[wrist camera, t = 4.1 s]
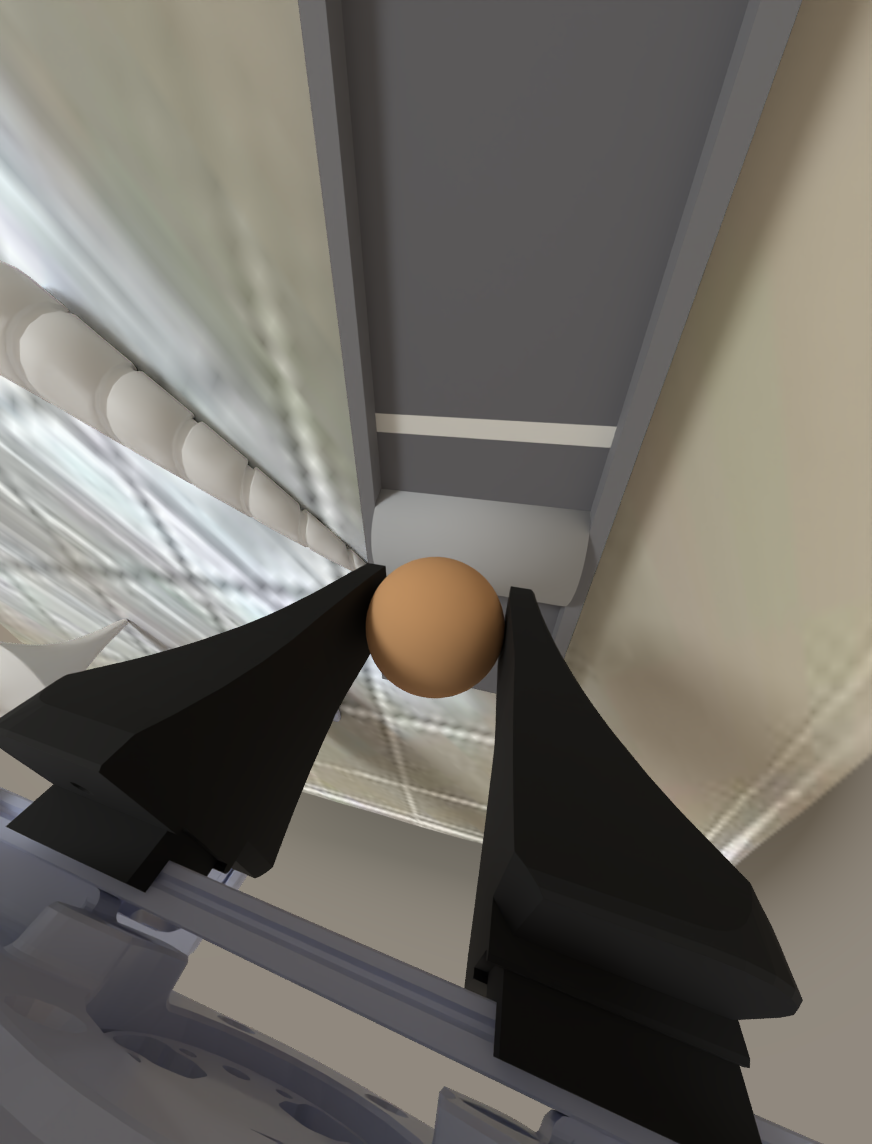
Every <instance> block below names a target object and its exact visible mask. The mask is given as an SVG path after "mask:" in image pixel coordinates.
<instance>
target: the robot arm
mask: <svg viewBox="0 0 872 1144" xmlns="http://www.w3.org/2000/svg"><path fill="white" fill-rule="evenodd" d="M386 577H387V576H386V566H384V565H378V564H372V563H368V564H365V565H363V566H361V567H359V568H358V569H356V570H354V571H352V572H350V573H349V574H347V575H345V576H343V577H341V578H340V579H338V580H336V581H334V582H333V583H331V584H329V585H327V586H325V587H324V588H322V589H320V590H318V591H316V592H314V593H313V594H311V595H309V596H307V597H305V598H303V599H301V600H299V601H297V602H295V603H293V604H291V605H289V606H287V607H285V608H283V609H281V610H278V611H276V612H274V613H272V614H269V615H267V616H265V617H262V618H260V619H258V620H255V621H253V622H250V623H248V624H245V625H243V626H240V627H238V628H235V629H232V630H229V631H226V632H223V633H220V634H218V635H215V636H212V637H209V638H206V639H203V640H200V641H197V642H194V643H191V644H187V645H184V646H181V647H177V648H174V649H171V650H167V651H163V652H160V653H156V654H153V655H149V656H145V657H141V658H137V659H133V660H129V661H125V662H120V663H116V664H112V665H107V666H103V667H99V668H94V669H90V670H86V671H81V672H76V673H71V674H67V675H65V676H63V677H61V678H60V679H58V680H56V681H55V682H53V683H52V684H50V685H49V686H47V687H46V688H44V689H43V690H41V691H40V692H38V693H37V694H35V695H34V696H32V697H31V698H29V699H28V700H26V701H25V702H23V703H22V704H20V705H19V706H17V707H16V708H14V709H12V710H11V711H9V712H8V713H6V714H5V715H3V716H2V717H0V748H1V749H2V750H4V751H5V752H7V753H8V754H9V755H11V756H12V757H14V758H15V759H17V760H18V761H20V762H21V763H23V764H24V765H26V766H27V767H29V768H30V769H32V770H33V771H35V772H36V773H38V774H39V775H41V776H42V777H44V778H45V779H47V780H48V781H49V782H51V783H53V785H52V786H51V787H50V788H49V789H48V790H47V791H45V793H43V794H42V795H41V796H40V797H39V798H37V799H36V800H35V801H31V800H29V799H27V798H24V797H22V796H20V795H18V794H15V793H13V792H11V791H8V790H6V789H4V788H1V787H0V1144H821V1143H820V1142H817V1141H815V1140H813V1139H810V1138H808V1137H806V1136H803V1135H801V1134H799V1133H796V1132H794V1131H792V1130H790V1129H787V1128H785V1127H782V1126H780V1125H778V1124H776V1123H773V1122H771V1121H769V1120H766V1119H764V1118H762V1117H760V1116H757V1115H755V1114H753V1110H752V1107H751V1104H750V1100H749V1097H748V1093H747V1090H746V1086H745V1083H744V1079H743V1076H742V1073H741V1069H740V1066H742V1067H747V1068H750V1057H749V1054H748V1051H747V1047H746V1044H745V1041H744V1038H743V1034H742V1031H741V1028H740V1025H739V1022H738V1020H743V1019H764V1018H781V1017H786V1016H791V1015H794V1014H795V1013H796V1011H797V1010H798V1008H799V1006H800V1004H801V1003H802V1001H803V1000H802V997H801V995H800V992H799V990H798V988H797V985H796V983H795V980H794V978H793V976H792V973H791V971H790V968H789V966H788V964H787V962H786V959H785V956H784V954H783V952H782V949H781V947H780V944H779V942H778V940H777V937H776V935H775V933H774V930H773V928H772V926H771V924H770V922H769V920H768V918H767V916H766V914H765V912H764V910H763V908H762V907H761V904H760V902H759V900H758V899H757V896H756V894H755V892H754V890H753V888H752V886H751V884H750V882H749V881H748V880H747V879H746V878H745V877H744V876H743V875H742V874H741V873H740V872H739V871H738V870H737V869H736V868H735V867H734V866H733V865H732V864H731V863H730V862H729V861H728V860H727V859H726V858H725V857H724V856H723V855H722V854H721V853H720V851H719V850H718V849H717V848H716V847H715V846H714V845H713V844H712V843H711V842H710V841H709V840H708V839H707V838H706V837H705V836H704V835H703V834H702V833H701V832H700V831H699V830H698V829H697V828H696V827H695V826H694V825H693V824H692V823H691V822H690V821H689V820H688V819H687V818H686V817H685V815H684V814H683V813H682V812H681V811H680V810H679V809H678V808H677V807H676V806H675V805H674V804H673V803H672V801H671V800H670V799H669V798H668V797H667V796H666V795H665V794H664V793H663V791H662V790H661V789H660V788H659V787H658V786H657V785H656V784H655V782H654V781H653V780H652V779H651V778H650V777H649V776H648V775H647V773H646V772H645V771H644V770H643V768H642V767H641V766H640V765H639V763H638V762H637V761H636V760H635V759H634V757H633V756H632V755H631V754H630V752H629V751H628V750H627V749H626V748H625V746H624V745H623V744H622V743H621V741H620V740H619V739H618V738H617V737H616V735H615V734H614V733H613V732H612V730H611V729H610V728H609V726H608V725H607V724H606V722H605V721H604V720H603V718H602V717H601V716H600V714H599V713H598V711H597V710H596V709H595V707H594V706H593V704H592V703H591V702H590V700H589V699H588V697H587V696H586V694H585V693H584V691H583V690H582V688H581V687H580V685H579V684H578V682H577V681H576V679H575V677H574V676H573V674H572V672H571V671H570V669H569V667H568V666H567V664H566V662H565V660H564V659H563V657H562V655H561V653H560V651H559V650H558V648H557V646H556V644H555V642H554V640H553V638H552V636H551V634H550V632H549V630H548V627H547V625H546V623H545V621H544V618H543V616H542V614H541V611H540V609H539V606H538V603H537V600H536V597H535V594H534V592H533V591H532V590H531V589H526V588H519V587H513V586H511V587H510V592H509V597H508V603H507V608H506V614H505V619H504V621H505V633H504V640H503V645H502V649H501V652H500V654H499V657H498V665H497V695H496V728H495V746H494V756H493V764H492V773H491V781H490V789H489V797H488V805H487V814H486V822H485V830H484V838H483V845H482V854H481V862H480V870H479V877H478V885H477V892H476V900H475V908H474V915H473V924H472V930H471V938H470V946H469V953H468V962H467V970H466V979H465V988H462V987H460V986H458V985H455V984H453V983H451V982H448V981H446V980H444V979H442V978H439V977H437V976H435V975H432V974H430V973H428V972H425V971H423V970H421V969H419V968H416V967H414V966H412V965H409V964H407V963H405V962H402V961H400V960H398V959H395V958H393V957H391V956H389V955H386V954H384V953H382V952H379V951H377V950H375V949H372V948H370V947H368V946H366V945H363V944H361V943H359V942H356V941H354V940H352V939H349V938H347V937H345V936H342V935H340V934H338V933H336V932H333V931H331V930H328V929H326V928H324V927H322V926H319V925H317V924H315V923H312V922H310V921H308V920H305V919H303V918H301V917H299V916H296V915H294V914H291V913H289V912H287V911H285V910H283V909H280V908H278V907H276V906H273V905H271V904H269V903H266V902H264V901H262V900H259V899H257V898H255V897H253V896H250V895H248V894H246V893H243V892H241V891H239V890H238V889H239V887H240V886H241V885H242V883H243V882H244V880H245V878H246V877H247V875H249V876H251V877H253V878H257V877H259V876H261V875H263V874H264V873H266V872H267V871H269V870H270V869H271V868H272V867H273V865H274V862H275V860H276V857H277V854H278V852H279V849H280V846H281V844H282V841H283V838H284V836H285V833H286V830H287V828H288V825H289V823H290V820H291V817H292V815H293V812H294V809H295V807H296V805H297V802H298V799H299V797H300V795H301V792H302V790H303V788H304V785H305V783H306V780H307V778H308V775H309V773H310V770H311V768H312V766H313V764H314V761H315V759H316V757H317V755H318V752H319V750H320V748H321V745H322V743H323V741H324V739H325V736H326V734H327V732H328V730H329V728H330V726H331V724H332V721H336V722H338V721H339V720H340V719H341V715H340V712H339V707H340V705H341V703H342V701H343V699H344V697H345V696H346V694H347V692H348V691H349V689H350V687H351V686H352V684H353V682H354V680H355V679H356V677H357V675H358V674H359V672H360V670H361V669H362V667H363V665H364V664H365V662H366V660H367V659H368V657H369V655H370V654H371V653H370V651H369V648H368V644H367V639H366V616H367V611H368V607H369V604H370V602H371V599H372V597H373V595H374V593H375V591H376V590H377V588H378V586H379V585H380V584H381V583H382V581H383V580H384V579H385V578H386ZM202 939H204V940H206V941H208V942H210V943H212V944H215V945H217V946H219V947H221V948H223V949H225V950H227V951H229V952H231V953H233V954H235V955H237V956H239V957H242V958H243V959H245V960H247V961H250V962H252V963H254V964H256V965H258V966H260V967H262V968H264V969H266V970H269V971H270V972H272V973H275V974H277V975H279V976H280V977H283V978H285V979H287V980H289V981H291V982H293V983H295V984H297V985H299V986H301V987H303V988H305V989H308V990H309V991H312V992H313V993H316V994H318V995H320V996H322V997H324V998H326V999H328V1000H330V1001H332V1002H334V1003H336V1004H338V1005H340V1006H342V1007H345V1008H346V1009H349V1010H351V1011H353V1012H355V1013H357V1014H359V1015H361V1016H363V1017H365V1018H367V1019H369V1020H371V1021H373V1022H376V1023H377V1024H380V1025H381V1026H384V1027H386V1028H388V1029H390V1030H392V1031H394V1032H396V1033H398V1034H400V1035H402V1036H404V1037H406V1038H408V1039H410V1040H412V1041H414V1042H417V1043H419V1044H421V1045H423V1046H425V1047H427V1048H429V1049H431V1050H433V1051H435V1052H437V1053H439V1054H441V1055H443V1056H445V1057H447V1058H449V1059H452V1060H454V1061H456V1062H458V1063H460V1064H462V1065H464V1066H466V1067H468V1068H470V1069H472V1070H474V1071H476V1072H478V1073H480V1074H482V1075H485V1076H487V1077H489V1078H491V1079H493V1080H495V1081H497V1082H499V1083H501V1084H503V1085H505V1086H507V1087H510V1088H511V1089H514V1090H515V1091H518V1092H520V1093H522V1094H524V1095H526V1096H528V1097H530V1098H532V1099H534V1100H536V1101H538V1102H540V1103H542V1104H544V1105H546V1106H548V1107H551V1108H553V1109H555V1110H550V1111H549V1112H548V1113H547V1114H546V1115H545V1116H544V1118H543V1120H542V1124H541V1127H540V1129H539V1131H537V1132H534V1131H533V1130H531V1129H530V1128H528V1127H527V1126H525V1125H523V1124H522V1123H520V1122H519V1121H517V1120H515V1119H513V1118H512V1117H510V1116H508V1115H506V1114H504V1113H502V1112H500V1111H498V1110H496V1109H494V1108H492V1107H490V1106H488V1105H485V1104H483V1103H481V1102H479V1101H477V1100H474V1099H472V1098H470V1097H468V1096H465V1095H463V1094H461V1093H459V1092H456V1091H454V1090H452V1089H450V1088H447V1087H443V1089H442V1090H441V1091H440V1092H439V1099H438V1107H437V1114H436V1121H435V1129H433V1128H432V1127H430V1126H429V1125H427V1124H425V1123H424V1122H422V1121H420V1120H418V1119H417V1118H415V1117H413V1116H412V1115H410V1114H408V1113H407V1112H405V1111H403V1110H402V1109H400V1108H398V1107H397V1106H395V1105H393V1104H392V1103H390V1102H388V1101H387V1100H385V1099H383V1098H382V1097H380V1096H378V1095H377V1094H375V1093H373V1092H371V1091H370V1090H368V1089H367V1088H365V1087H363V1086H361V1085H360V1084H358V1083H356V1082H355V1081H353V1080H351V1079H349V1078H348V1077H346V1076H344V1075H342V1074H340V1073H339V1072H336V1071H335V1070H333V1069H331V1068H330V1067H328V1066H326V1065H324V1064H322V1063H320V1062H318V1061H317V1060H315V1059H313V1058H311V1057H309V1056H307V1055H305V1054H303V1053H301V1052H299V1051H297V1050H295V1049H294V1048H292V1047H290V1046H288V1045H286V1044H284V1043H282V1042H280V1041H278V1040H276V1039H273V1038H271V1037H269V1036H267V1035H265V1034H263V1033H261V1032H259V1031H257V1030H255V1029H253V1028H251V1027H249V1026H247V1025H245V1024H242V1023H240V1022H238V1021H236V1020H234V1019H232V1018H230V1017H228V1016H225V1015H224V1014H221V1013H219V1012H217V1011H215V1010H213V1009H211V1008H209V1007H207V1006H205V1005H202V1004H200V1003H198V1002H196V1001H194V1000H192V999H190V998H188V997H186V996H184V995H182V994H179V993H177V992H175V991H173V990H172V989H173V988H174V986H175V984H176V982H177V981H178V979H179V977H180V976H181V974H182V972H183V970H184V969H185V967H186V965H187V963H188V956H189V955H190V954H192V953H193V952H194V951H195V950H196V949H197V947H198V945H199V944H200V942H201V940H202ZM739 1065H740V1066H739Z"/></svg>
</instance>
